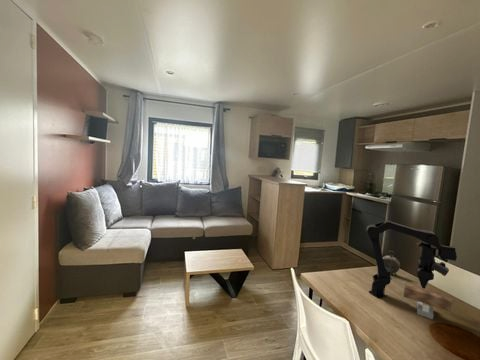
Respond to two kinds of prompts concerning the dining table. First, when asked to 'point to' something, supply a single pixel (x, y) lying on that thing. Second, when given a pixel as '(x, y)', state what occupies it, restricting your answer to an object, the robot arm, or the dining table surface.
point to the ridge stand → (425, 310)
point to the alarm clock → (391, 263)
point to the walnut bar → (428, 298)
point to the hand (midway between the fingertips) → (423, 284)
